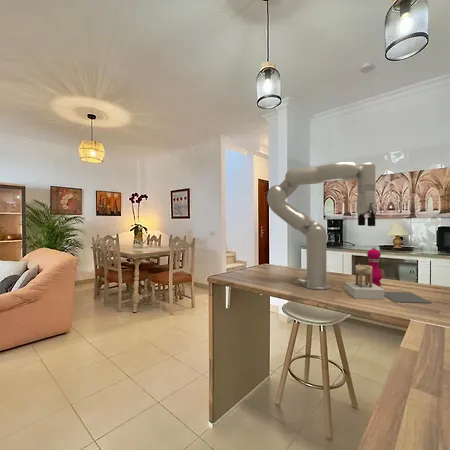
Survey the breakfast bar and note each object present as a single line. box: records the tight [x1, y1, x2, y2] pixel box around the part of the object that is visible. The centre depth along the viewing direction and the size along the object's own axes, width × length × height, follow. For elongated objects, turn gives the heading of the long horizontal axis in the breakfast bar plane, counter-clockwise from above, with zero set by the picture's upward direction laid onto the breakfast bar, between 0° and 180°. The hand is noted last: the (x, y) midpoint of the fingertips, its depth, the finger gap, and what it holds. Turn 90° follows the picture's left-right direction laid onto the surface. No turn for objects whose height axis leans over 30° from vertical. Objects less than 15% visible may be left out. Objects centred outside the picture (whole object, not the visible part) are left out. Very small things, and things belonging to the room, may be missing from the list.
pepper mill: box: [366, 246, 383, 287], centre depth 132 cm, size 7×7×20 cm
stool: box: [355, 264, 372, 288], centre depth 115 cm, size 7×7×9 cm
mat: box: [384, 291, 432, 304], centre depth 111 cm, size 14×14×1 cm
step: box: [344, 281, 385, 300], centre depth 116 cm, size 12×12×4 cm
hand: (366, 225), depth 121 cm, fingers open, 9 cm apart
